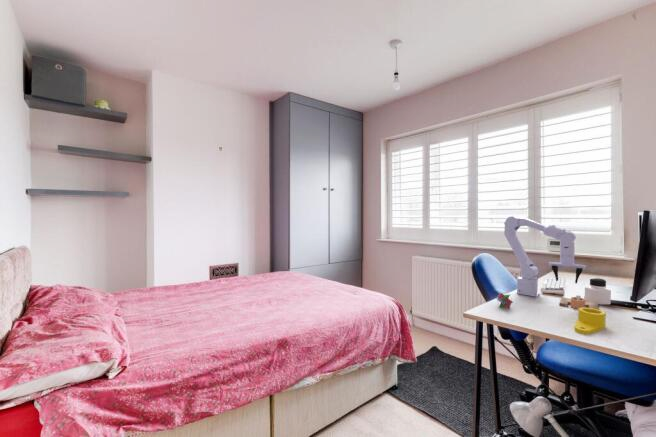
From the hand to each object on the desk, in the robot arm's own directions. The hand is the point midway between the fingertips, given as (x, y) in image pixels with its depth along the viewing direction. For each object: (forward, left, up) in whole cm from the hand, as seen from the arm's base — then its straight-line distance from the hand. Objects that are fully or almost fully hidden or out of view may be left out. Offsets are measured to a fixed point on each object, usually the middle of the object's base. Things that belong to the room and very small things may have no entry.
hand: (566, 281), depth 154 cm
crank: (+9, -37, -10) cm, 40 cm away
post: (+5, -9, -10) cm, 14 cm away
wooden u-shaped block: (+5, -5, -10) cm, 12 cm away
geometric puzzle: (-22, -31, -10) cm, 39 cm away
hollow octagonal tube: (+5, -9, -10) cm, 14 cm away
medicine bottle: (+12, +7, -10) cm, 17 cm away
